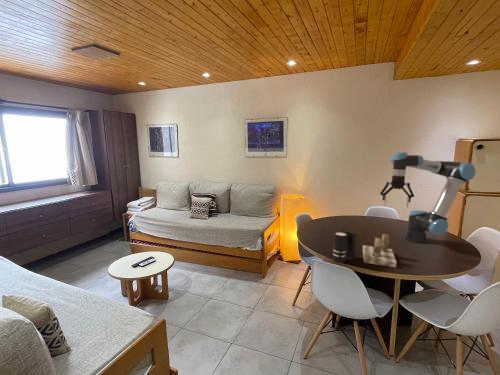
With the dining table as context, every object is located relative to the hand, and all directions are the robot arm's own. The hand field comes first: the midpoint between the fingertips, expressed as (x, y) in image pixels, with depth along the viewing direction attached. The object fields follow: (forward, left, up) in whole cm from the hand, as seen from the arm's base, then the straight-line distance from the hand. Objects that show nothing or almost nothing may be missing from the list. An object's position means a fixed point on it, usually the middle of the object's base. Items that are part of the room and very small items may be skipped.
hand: (395, 205), depth 175 cm
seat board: (+10, +19, -32) cm, 38 cm away
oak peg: (+11, +22, -32) cm, 40 cm away
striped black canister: (+32, +30, -32) cm, 54 cm away
